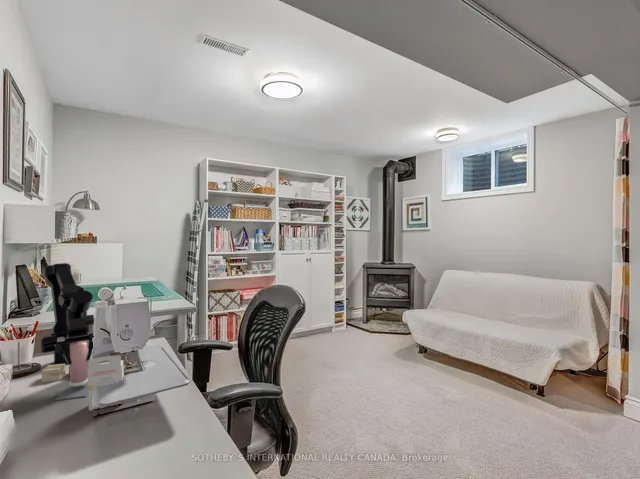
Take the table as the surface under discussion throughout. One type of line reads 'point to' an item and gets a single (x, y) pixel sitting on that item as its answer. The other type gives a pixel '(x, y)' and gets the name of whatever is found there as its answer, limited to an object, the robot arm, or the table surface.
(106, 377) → the ink cartridge box
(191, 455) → the table surface
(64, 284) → the robot arm
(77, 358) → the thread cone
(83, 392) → the slate mat
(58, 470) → the table surface
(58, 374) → the birch block
